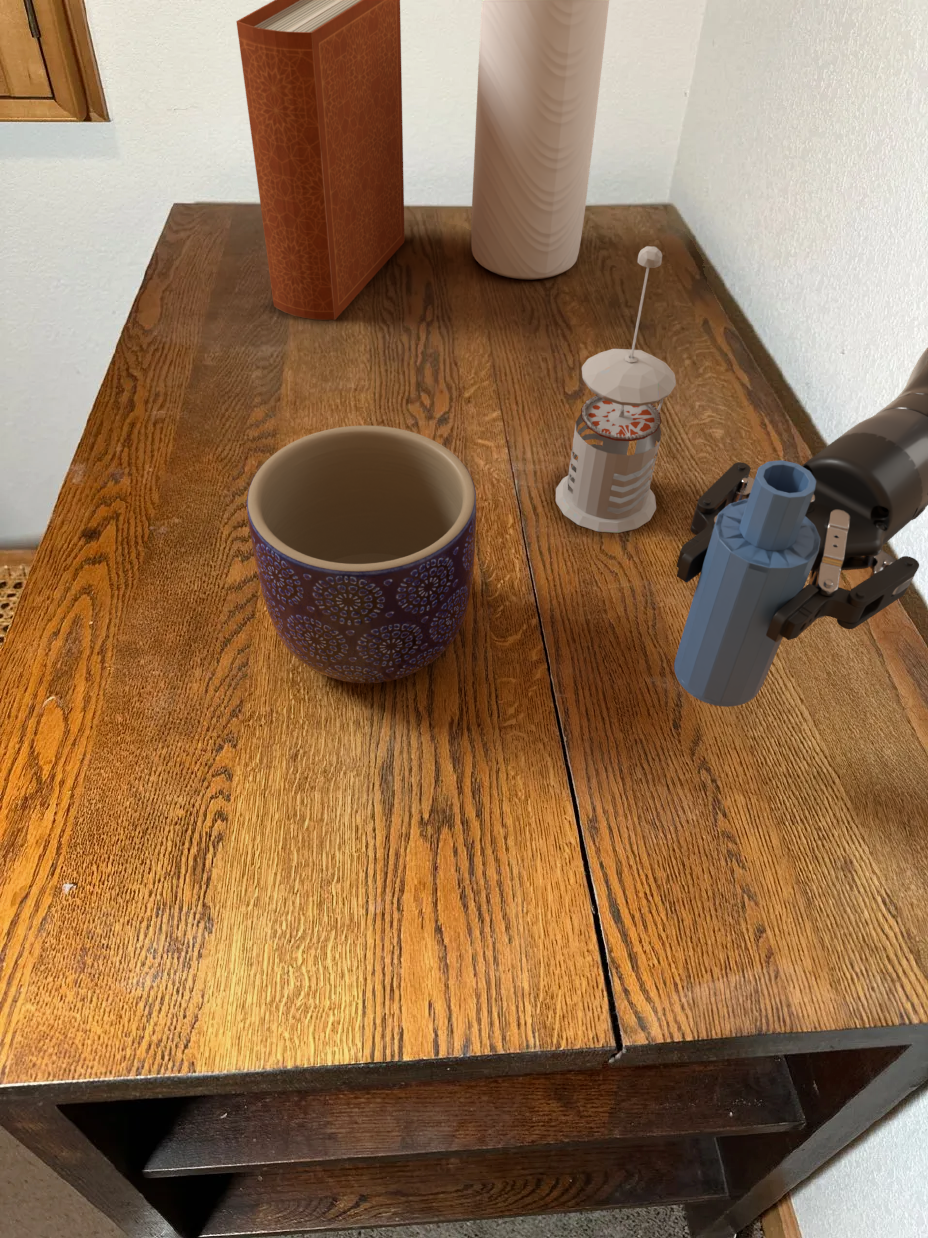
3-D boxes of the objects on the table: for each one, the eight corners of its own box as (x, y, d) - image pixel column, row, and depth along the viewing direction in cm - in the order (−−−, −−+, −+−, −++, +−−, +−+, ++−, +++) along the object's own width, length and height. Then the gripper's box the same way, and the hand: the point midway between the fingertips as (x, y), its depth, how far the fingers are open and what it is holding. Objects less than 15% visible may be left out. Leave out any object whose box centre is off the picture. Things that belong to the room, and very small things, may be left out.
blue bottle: (768, 653, 65) (846, 459, 53) (755, 717, 62) (836, 525, 49) (683, 630, 67) (740, 435, 54) (665, 691, 63) (722, 497, 50)
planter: (433, 544, 85) (433, 406, 74) (500, 678, 74) (512, 540, 64) (252, 586, 81) (224, 446, 70) (296, 734, 70) (272, 596, 59)
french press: (535, 503, 89) (563, 250, 71) (598, 446, 96) (639, 200, 77) (623, 547, 85) (678, 292, 67) (683, 485, 92) (748, 236, 73)
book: (348, 230, 127) (332, -33, 105) (404, 241, 125) (399, -24, 103) (269, 310, 112) (230, 24, 90) (331, 323, 110) (307, 35, 88)
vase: (582, 285, 118) (620, -5, 95) (469, 281, 118) (480, -11, 95) (574, 234, 128) (607, -41, 105) (470, 230, 128) (480, -46, 105)
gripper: (797, 390, 65) (645, 493, 57) (995, 489, 58) (853, 623, 50) (768, 474, 71) (626, 580, 63) (946, 574, 64) (811, 707, 56)
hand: (728, 598), depth 56 cm, fingers closed on blue bottle, 6 cm apart
